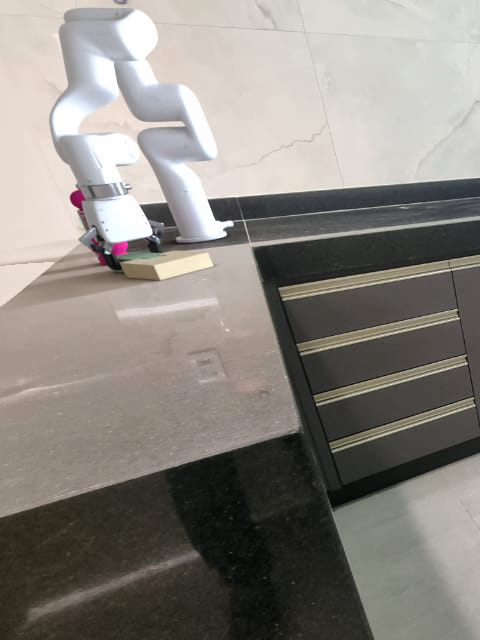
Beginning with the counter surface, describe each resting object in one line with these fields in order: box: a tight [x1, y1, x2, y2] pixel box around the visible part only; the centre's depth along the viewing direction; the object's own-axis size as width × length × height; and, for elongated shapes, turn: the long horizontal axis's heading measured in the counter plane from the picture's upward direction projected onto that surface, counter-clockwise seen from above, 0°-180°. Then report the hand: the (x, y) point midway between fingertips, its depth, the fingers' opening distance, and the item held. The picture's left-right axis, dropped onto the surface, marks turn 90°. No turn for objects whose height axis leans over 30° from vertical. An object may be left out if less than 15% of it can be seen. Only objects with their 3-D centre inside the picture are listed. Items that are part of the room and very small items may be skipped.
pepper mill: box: [69, 182, 129, 266], centre depth 135 cm, size 7×7×20 cm
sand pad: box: [120, 249, 214, 281], centre depth 126 cm, size 12×12×4 cm
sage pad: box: [112, 251, 163, 273], centre depth 129 cm, size 6×13×4 cm, turn 71°
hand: (138, 264), depth 130 cm, fingers open, 8 cm apart
